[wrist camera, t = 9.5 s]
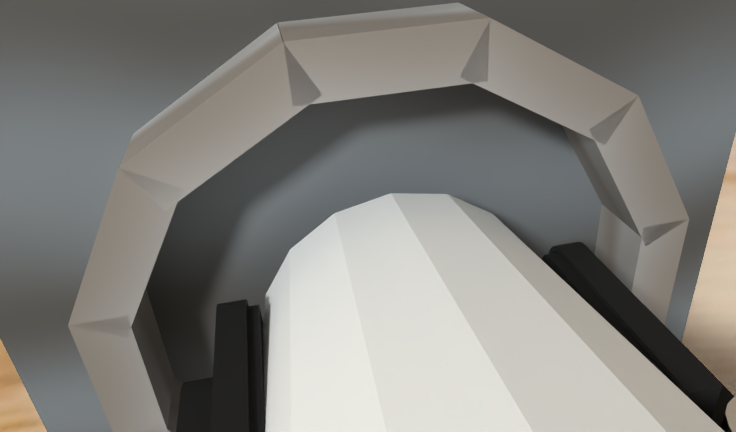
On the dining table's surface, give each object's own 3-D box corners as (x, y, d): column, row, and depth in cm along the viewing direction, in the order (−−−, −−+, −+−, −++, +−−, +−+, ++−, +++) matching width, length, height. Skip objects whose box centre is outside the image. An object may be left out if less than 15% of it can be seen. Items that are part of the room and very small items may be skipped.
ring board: (-216, -236, 8) (-421, -295, 6) (773, -281, 10) (949, -340, 8) (145, 562, 18) (130, 672, 16) (616, 455, 20) (671, 536, 18)
